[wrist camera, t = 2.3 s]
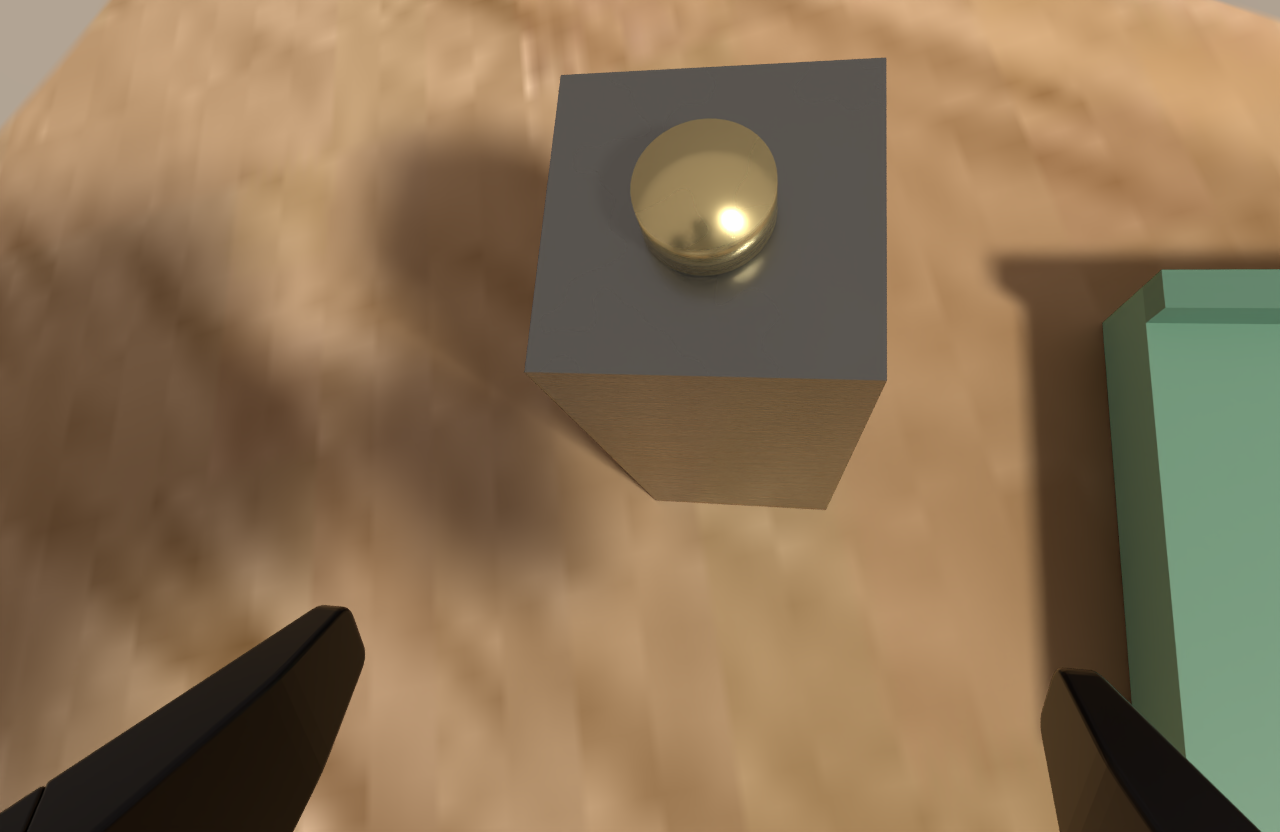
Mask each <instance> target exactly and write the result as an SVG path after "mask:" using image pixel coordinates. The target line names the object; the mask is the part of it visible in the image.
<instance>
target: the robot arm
mask: <svg viewBox="0 0 1280 832" xmlns="http://www.w3.org/2000/svg"><path fill="white" fill-rule="evenodd" d="M364 660H365V648H364V645H363V642H362V639H361V636H360V633H359V631H358V628H357V625H356V622H355V619H354V617H353V614H352V612H351V611H350V610H349V609H348V608H346V607H341V606H329V605H321V606H318V607H315V608H314V609H312V610H310V611H309V612H307V613H306V614H304V615H303V616H301V617H300V618H298V619H297V620H295V621H294V622H292V623H291V624H289V625H287V626H286V627H284V628H283V629H281V630H280V631H278V632H277V633H275V634H274V635H272V636H271V637H269V638H268V639H266V640H265V641H263V642H261V643H260V644H258V645H257V646H255V647H254V648H252V649H251V650H249V651H248V652H246V653H245V654H243V655H242V656H240V657H239V658H237V659H235V660H234V661H232V662H231V663H229V664H228V665H226V666H225V667H223V668H222V669H220V670H219V671H217V672H216V673H214V674H212V675H211V676H209V677H208V678H206V679H205V680H203V681H202V682H200V683H199V684H197V685H196V686H194V687H193V688H191V689H190V690H188V691H186V692H185V693H183V694H182V695H180V696H179V697H177V698H176V699H174V700H173V701H171V702H170V703H168V704H167V705H165V706H164V707H162V708H160V709H159V710H157V711H156V712H154V713H153V714H151V715H150V716H148V717H147V718H145V719H144V720H142V721H141V722H139V723H138V724H136V725H134V726H133V727H131V728H130V729H128V730H127V731H125V732H124V733H122V734H121V735H119V736H118V737H116V738H115V739H113V740H111V741H110V742H108V743H107V744H105V745H104V746H102V747H101V748H99V749H98V750H96V751H95V752H93V753H92V754H90V755H89V756H87V757H85V758H84V759H82V760H81V761H79V762H78V763H76V764H75V765H73V766H72V767H70V768H69V769H67V770H66V771H64V772H62V773H61V774H59V775H58V776H56V777H55V778H53V779H52V780H50V781H49V782H48V783H47V785H46V787H44V786H42V787H39V788H38V789H36V790H35V791H33V792H32V793H30V794H29V795H27V796H26V797H24V798H22V799H21V800H19V801H18V802H16V803H15V804H13V805H12V806H10V807H9V808H7V809H6V810H4V811H2V812H1V813H0V832H293V831H294V829H295V827H296V825H297V823H298V821H299V819H300V817H301V815H302V813H303V811H304V809H305V807H306V805H307V803H308V801H309V799H310V797H311V795H312V793H313V791H314V789H315V787H316V784H317V782H318V780H319V778H320V776H321V774H322V772H323V769H324V767H325V765H326V762H327V760H328V757H329V755H330V752H331V750H332V747H333V744H334V742H335V739H336V737H337V734H338V731H339V729H340V726H341V723H342V721H343V718H344V715H345V713H346V710H347V708H348V705H349V702H350V700H351V697H352V694H353V692H354V689H355V686H356V684H357V681H358V679H359V676H360V673H361V671H362V668H363V665H364ZM1041 734H1042V740H1043V745H1044V751H1045V756H1046V761H1047V766H1048V772H1049V777H1050V782H1051V788H1052V793H1053V798H1054V804H1055V809H1056V814H1057V820H1058V825H1059V830H1060V832H1261V831H1260V830H1259V829H1258V828H1257V827H1256V826H1255V825H1254V824H1253V823H1252V822H1251V821H1250V820H1249V819H1248V818H1247V817H1246V816H1245V815H1244V814H1243V813H1242V812H1241V811H1240V810H1239V809H1238V808H1237V807H1236V806H1235V805H1234V804H1233V803H1232V802H1231V801H1230V800H1229V799H1228V798H1227V797H1226V796H1225V795H1224V794H1222V793H1221V792H1220V791H1219V790H1218V789H1217V788H1216V787H1215V786H1214V785H1213V784H1212V783H1211V782H1210V781H1209V780H1208V779H1207V778H1206V777H1205V776H1204V775H1203V774H1202V773H1201V772H1200V771H1199V770H1198V769H1197V768H1196V767H1195V766H1194V765H1193V764H1192V763H1191V762H1190V761H1189V760H1188V759H1187V758H1186V757H1185V756H1184V755H1183V754H1181V753H1180V752H1179V751H1178V750H1177V749H1176V748H1175V747H1174V746H1173V745H1172V744H1171V743H1170V742H1169V741H1168V740H1167V739H1166V738H1165V737H1164V736H1163V735H1162V734H1161V733H1160V732H1159V731H1158V730H1157V729H1156V728H1155V727H1154V726H1153V725H1152V724H1151V723H1150V722H1149V721H1148V720H1147V719H1146V718H1145V717H1144V716H1143V715H1142V714H1141V713H1139V712H1138V711H1137V710H1136V709H1135V708H1134V707H1133V706H1132V705H1131V704H1130V703H1129V702H1128V701H1127V700H1126V699H1125V698H1124V697H1123V696H1122V695H1121V694H1120V693H1119V692H1118V691H1117V690H1116V689H1115V688H1114V687H1113V686H1112V685H1111V684H1110V683H1109V682H1108V681H1107V680H1106V679H1105V678H1104V677H1102V676H1101V675H1100V674H1098V673H1097V672H1095V671H1092V670H1084V669H1072V668H1059V669H1057V670H1056V671H1055V673H1054V674H1053V677H1052V680H1051V683H1050V687H1049V690H1048V693H1047V696H1046V700H1045V703H1044V706H1043V710H1042V713H1041Z"/></svg>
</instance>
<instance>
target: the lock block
mask: <svg viewBox="0 0 1280 832" xmlns="http://www.w3.org/2000/svg"><path fill="white" fill-rule="evenodd" d="M524 372H525V373H526V374H527V375H528V376H529V377H530V378H531V379H532V380H533V381H534V382H535V383H536V384H537V385H538V386H539V387H540V388H541V389H542V390H543V391H544V392H545V393H546V394H547V395H548V396H549V397H550V398H552V399H553V400H554V401H555V402H556V403H557V404H558V405H559V406H560V407H561V408H562V409H563V410H564V411H565V412H566V413H567V414H568V415H569V416H570V417H571V418H572V419H573V420H574V421H575V422H576V423H577V424H578V425H579V426H580V427H581V428H582V429H583V430H584V431H585V432H586V433H587V434H588V435H589V436H590V437H592V438H593V439H594V440H595V441H596V442H597V443H598V444H599V445H600V446H601V447H602V448H603V449H604V450H605V451H606V452H607V453H608V454H609V455H610V456H611V457H612V458H613V459H614V460H615V461H616V462H617V463H618V464H619V465H620V466H621V467H622V468H623V469H624V470H625V471H626V472H627V473H628V474H629V475H631V476H632V477H633V478H634V479H635V480H636V481H637V482H638V483H639V484H640V485H641V486H642V487H643V488H644V489H645V490H646V491H647V492H648V493H649V494H650V495H651V496H652V497H653V498H654V499H655V500H658V501H676V502H694V503H712V504H730V505H748V506H767V507H785V508H803V509H821V510H826V508H827V506H828V504H829V502H830V500H831V498H832V496H833V494H834V491H835V489H836V487H837V485H838V483H839V481H840V479H841V477H842V474H843V472H844V470H845V468H846V466H847V464H848V462H849V460H850V457H851V455H852V453H853V451H854V449H855V447H856V445H857V443H858V440H859V438H860V436H861V434H862V432H863V430H864V428H865V426H866V424H867V421H868V419H869V417H870V415H871V413H872V411H873V409H874V407H875V404H876V402H877V400H878V398H879V396H880V394H881V392H882V390H883V387H884V385H885V383H886V381H887V216H886V58H871V59H852V60H834V61H815V62H796V63H778V64H759V65H741V66H722V67H703V68H685V69H666V70H648V71H629V72H610V73H592V74H573V75H561V78H560V86H559V94H558V103H557V111H556V119H555V127H554V135H553V143H552V151H551V160H550V168H549V176H548V184H547V192H546V200H545V208H544V217H543V225H542V233H541V241H540V249H539V257H538V265H537V274H536V282H535V290H534V298H533V306H532V314H531V322H530V331H529V339H528V347H527V355H526V363H525V371H524Z"/></svg>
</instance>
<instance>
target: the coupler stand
mask: <svg viewBox="0 0 1280 832" xmlns="http://www.w3.org/2000/svg"><path fill="white" fill-rule="evenodd" d="M1102 324H1103V337H1104V350H1105V363H1106V376H1107V389H1108V402H1109V415H1110V428H1111V441H1112V454H1113V467H1114V480H1115V493H1116V506H1117V519H1118V532H1119V545H1120V558H1121V571H1122V584H1123V597H1124V610H1125V623H1126V636H1127V649H1128V662H1129V675H1130V688H1131V700H1132V706H1133V707H1134V708H1135V709H1136V710H1137V711H1138V712H1139V713H1141V714H1142V715H1143V716H1144V717H1145V718H1146V719H1147V720H1148V721H1149V722H1150V723H1151V724H1152V725H1153V726H1154V727H1155V728H1156V729H1157V730H1158V731H1159V732H1160V733H1161V734H1162V735H1163V736H1164V737H1165V738H1166V739H1167V740H1168V741H1169V742H1170V743H1171V744H1172V745H1173V746H1174V747H1175V748H1176V749H1177V750H1178V751H1179V752H1180V753H1181V754H1183V755H1184V756H1185V757H1186V758H1187V759H1188V760H1189V761H1190V762H1191V763H1192V764H1193V765H1194V766H1195V767H1196V768H1197V769H1198V770H1199V771H1200V772H1201V773H1202V774H1203V775H1204V776H1205V777H1206V778H1207V779H1208V780H1209V781H1210V782H1211V783H1212V784H1213V785H1214V786H1215V787H1216V788H1217V789H1218V790H1219V791H1220V792H1221V793H1222V794H1224V795H1225V796H1226V797H1227V798H1228V799H1229V800H1230V801H1231V802H1232V803H1233V804H1234V805H1235V806H1236V807H1237V808H1238V809H1239V810H1240V811H1241V812H1242V813H1243V814H1244V815H1245V816H1246V817H1247V818H1248V819H1249V820H1250V821H1251V822H1252V823H1253V824H1254V825H1255V826H1256V827H1257V828H1258V829H1259V830H1260V831H1261V832H1280V269H1231V270H1161V271H1160V272H1158V273H1157V274H1156V275H1155V276H1154V277H1153V278H1152V279H1151V280H1150V281H1148V282H1147V283H1146V284H1145V285H1144V286H1143V287H1142V288H1141V289H1140V290H1138V291H1137V292H1136V293H1135V294H1134V295H1133V296H1132V297H1131V298H1130V299H1128V300H1127V301H1126V302H1125V303H1124V304H1123V305H1122V306H1121V307H1120V308H1118V309H1117V310H1116V311H1115V312H1114V313H1113V314H1112V315H1111V316H1110V317H1108V318H1107V319H1106V320H1105V321H1104V322H1103V323H1102Z"/></svg>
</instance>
